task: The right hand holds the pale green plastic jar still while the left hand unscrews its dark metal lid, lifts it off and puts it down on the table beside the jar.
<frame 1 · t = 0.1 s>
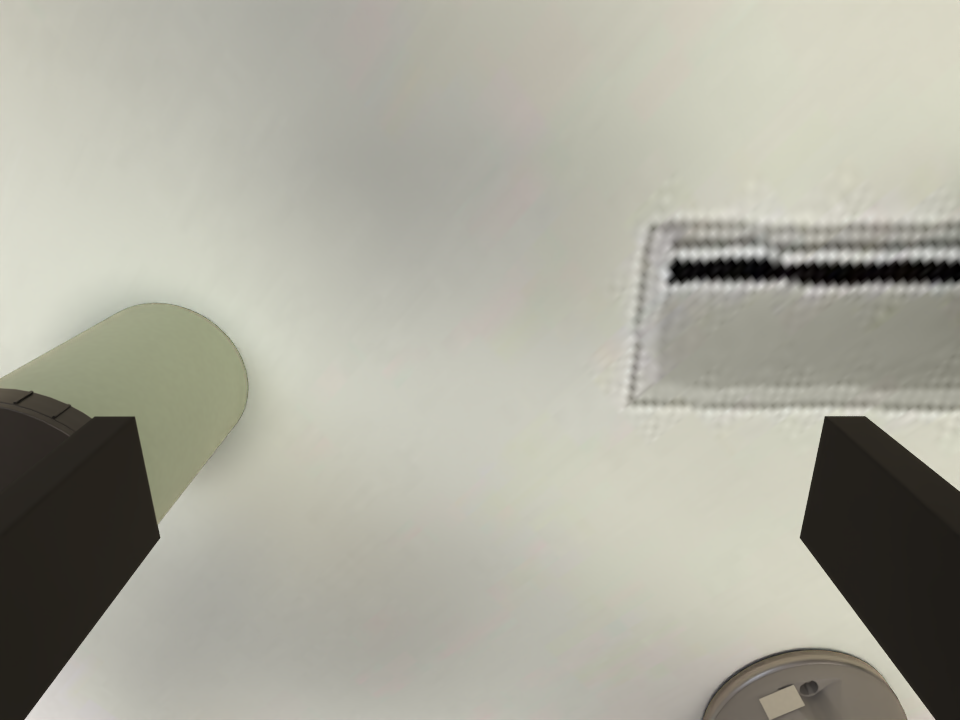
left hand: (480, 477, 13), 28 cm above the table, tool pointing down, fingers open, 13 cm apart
lid: (10, 515, 28), point 15 cm above the table, screwed on, not yet turned
jar: (169, 378, 42), on the table
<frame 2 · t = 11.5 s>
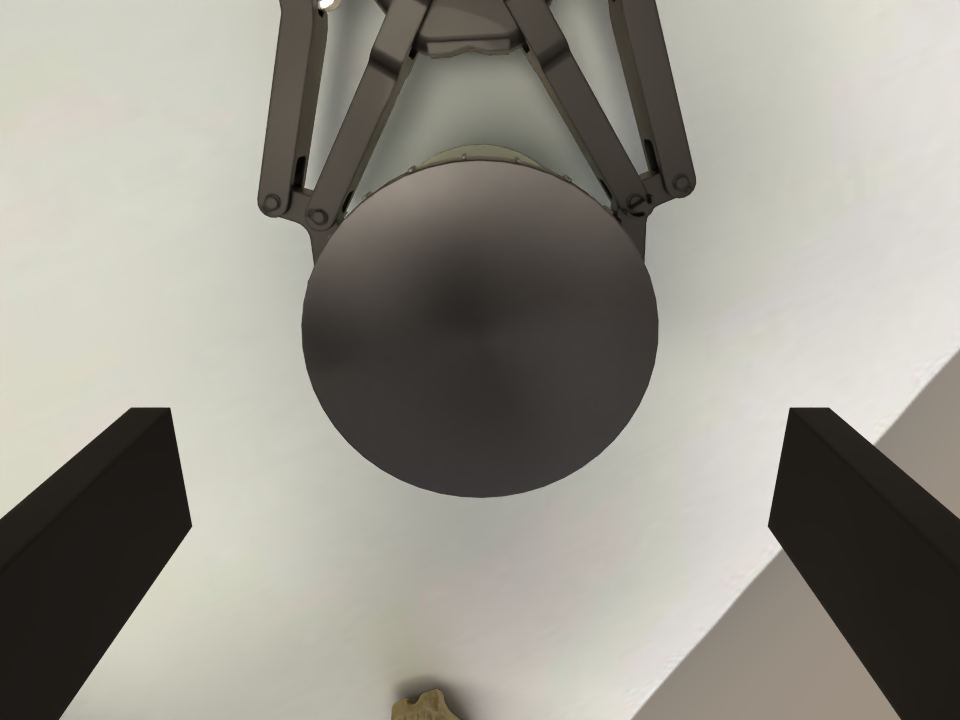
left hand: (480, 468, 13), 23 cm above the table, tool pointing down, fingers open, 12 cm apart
right hand: (484, 364, 30), fingers closed on jar, 10 cm apart
lid: (480, 341, 20), point 15 cm above the table, screwed on, not yet turned
sculpture: (433, 714, 46), on the table
jar: (479, 245, 35), on the table, touching right hand
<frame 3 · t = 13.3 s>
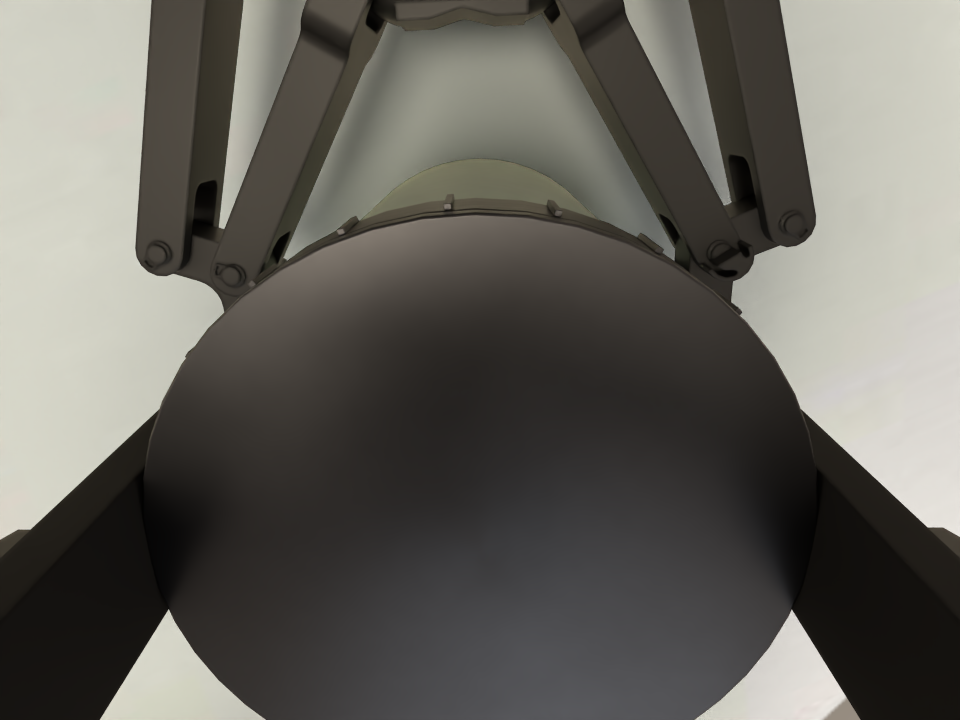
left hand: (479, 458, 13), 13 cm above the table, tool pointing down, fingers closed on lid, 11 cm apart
right hand: (486, 479, 21), fingers closed on jar, 10 cm apart
lid: (480, 537, 11), point 15 cm above the table, screwed on, not yet turned, touching left hand
jar: (479, 295, 25), on the table, touching right hand
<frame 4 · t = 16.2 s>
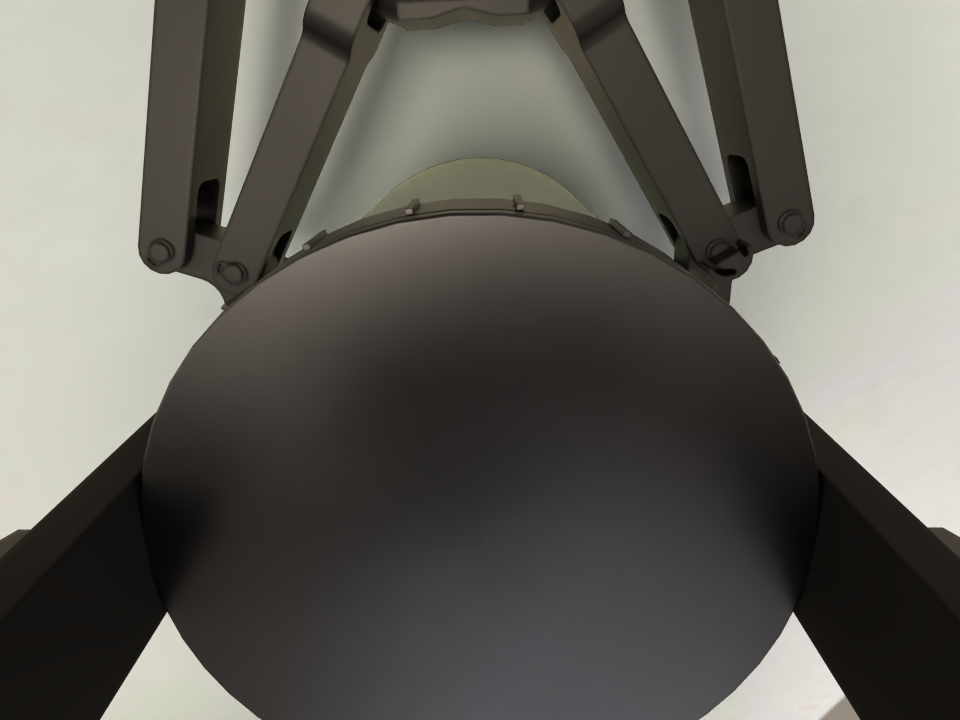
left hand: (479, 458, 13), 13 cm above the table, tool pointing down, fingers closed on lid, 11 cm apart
right hand: (486, 476, 21), fingers closed on jar, 10 cm apart
lid: (480, 539, 11), point 15 cm above the table, turned 71° so far, risen 0.2 cm, still on its thread, touching left hand
jar: (480, 294, 25), on the table, touching right hand
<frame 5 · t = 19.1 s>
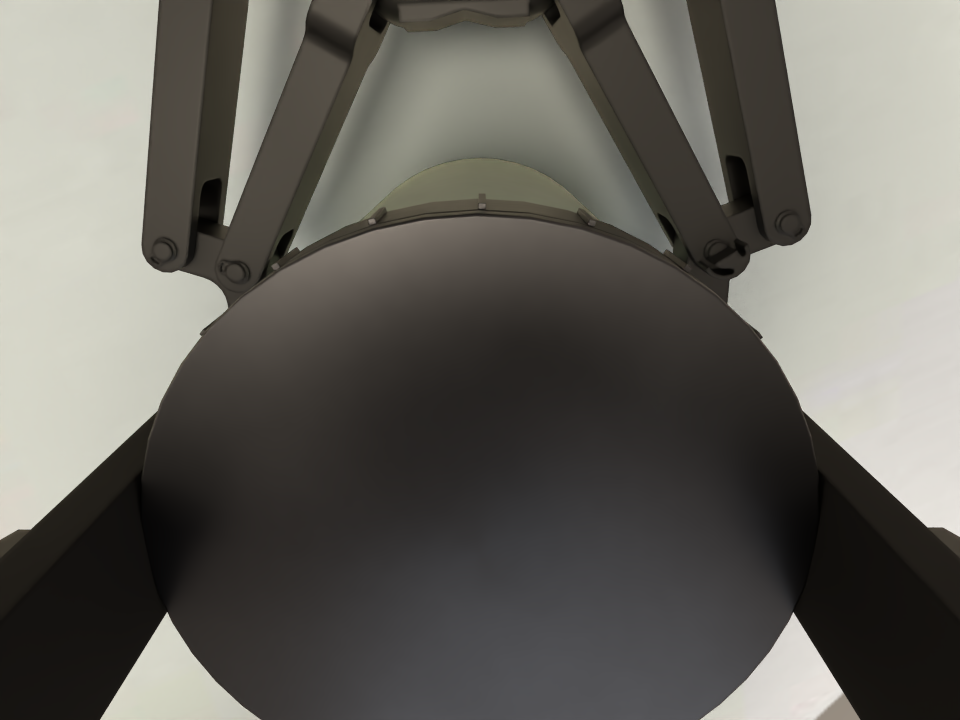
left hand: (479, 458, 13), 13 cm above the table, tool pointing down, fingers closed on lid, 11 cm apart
right hand: (486, 474, 21), fingers closed on jar, 10 cm apart
lid: (479, 540, 11), point 16 cm above the table, turned 142° so far, risen 0.3 cm, still on its thread, touching left hand
jar: (480, 293, 26), on the table, touching right hand
when the left hand's fingers open (0 cm above the table, at t = 25.2 s): lid drops 2 cm, point 1 cm above the table.
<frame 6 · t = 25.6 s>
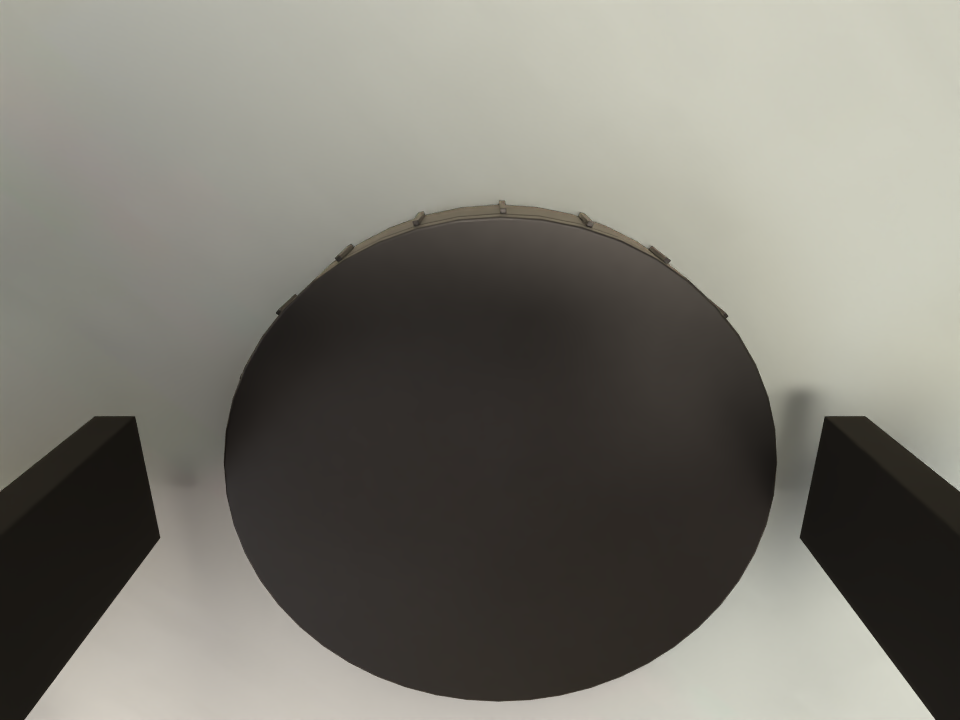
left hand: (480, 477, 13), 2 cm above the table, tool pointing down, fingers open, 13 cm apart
lid: (498, 485, 13), point 1 cm above the table, off its thread
when the right hand's fingers open (6 cm above the table, at t = 26.2 s): jar stays where it is, on the table.
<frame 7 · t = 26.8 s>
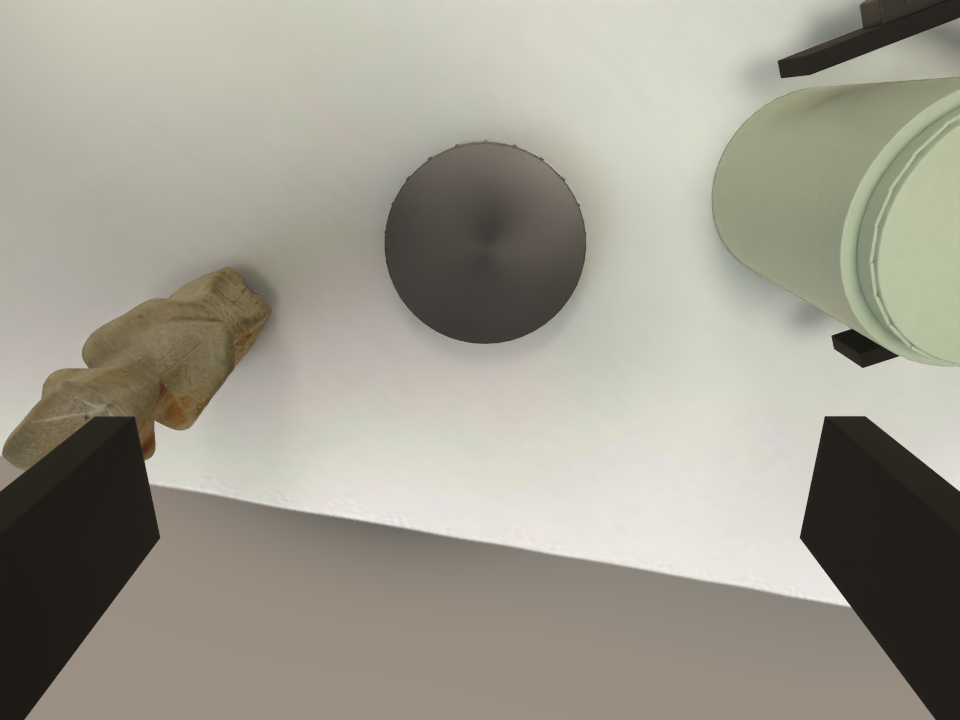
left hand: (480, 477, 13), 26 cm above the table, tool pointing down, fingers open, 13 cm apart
lid: (485, 247, 36), point 1 cm above the table, off its thread
sculpture: (224, 316, 38), on the table
jar: (805, 188, 36), on the table
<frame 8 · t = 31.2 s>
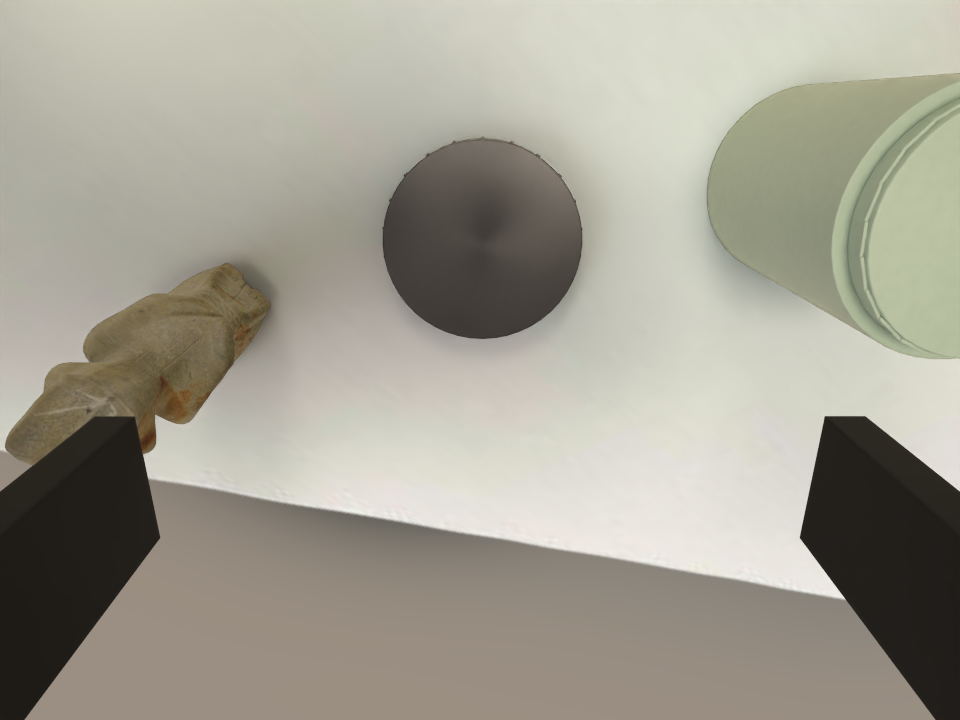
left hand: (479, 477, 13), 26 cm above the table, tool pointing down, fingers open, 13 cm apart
lid: (482, 243, 36), point 1 cm above the table, off its thread
sculpture: (223, 311, 39), on the table
jar: (799, 184, 36), on the table
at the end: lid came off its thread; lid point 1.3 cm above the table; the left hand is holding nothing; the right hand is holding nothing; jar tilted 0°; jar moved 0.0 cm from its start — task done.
